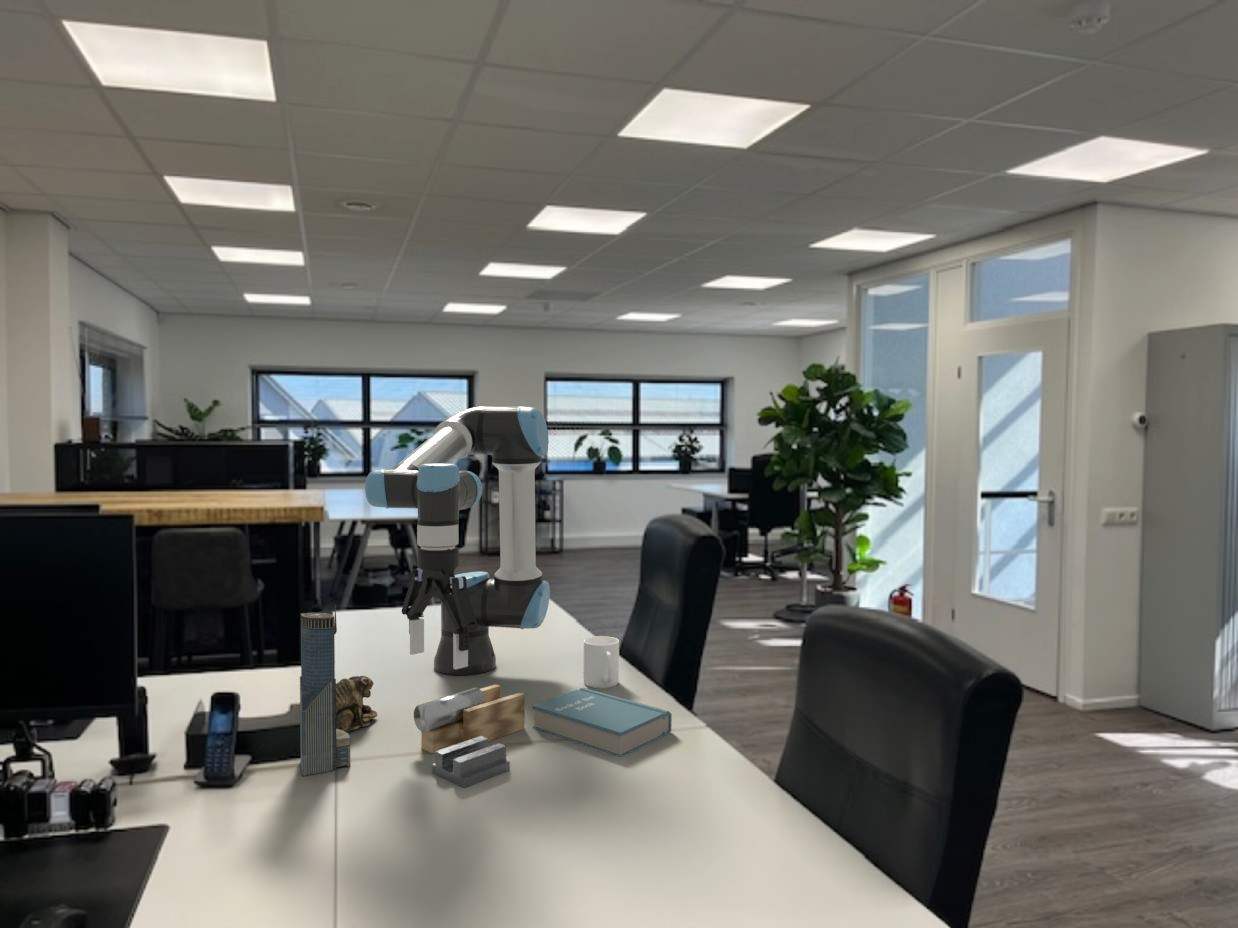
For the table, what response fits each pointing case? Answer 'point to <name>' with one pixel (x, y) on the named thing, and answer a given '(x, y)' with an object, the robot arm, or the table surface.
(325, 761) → the building
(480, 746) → the v block
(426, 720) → the axle
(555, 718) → the book
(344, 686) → the figurine
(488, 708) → the beam
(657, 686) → the table surface
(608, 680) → the cup
